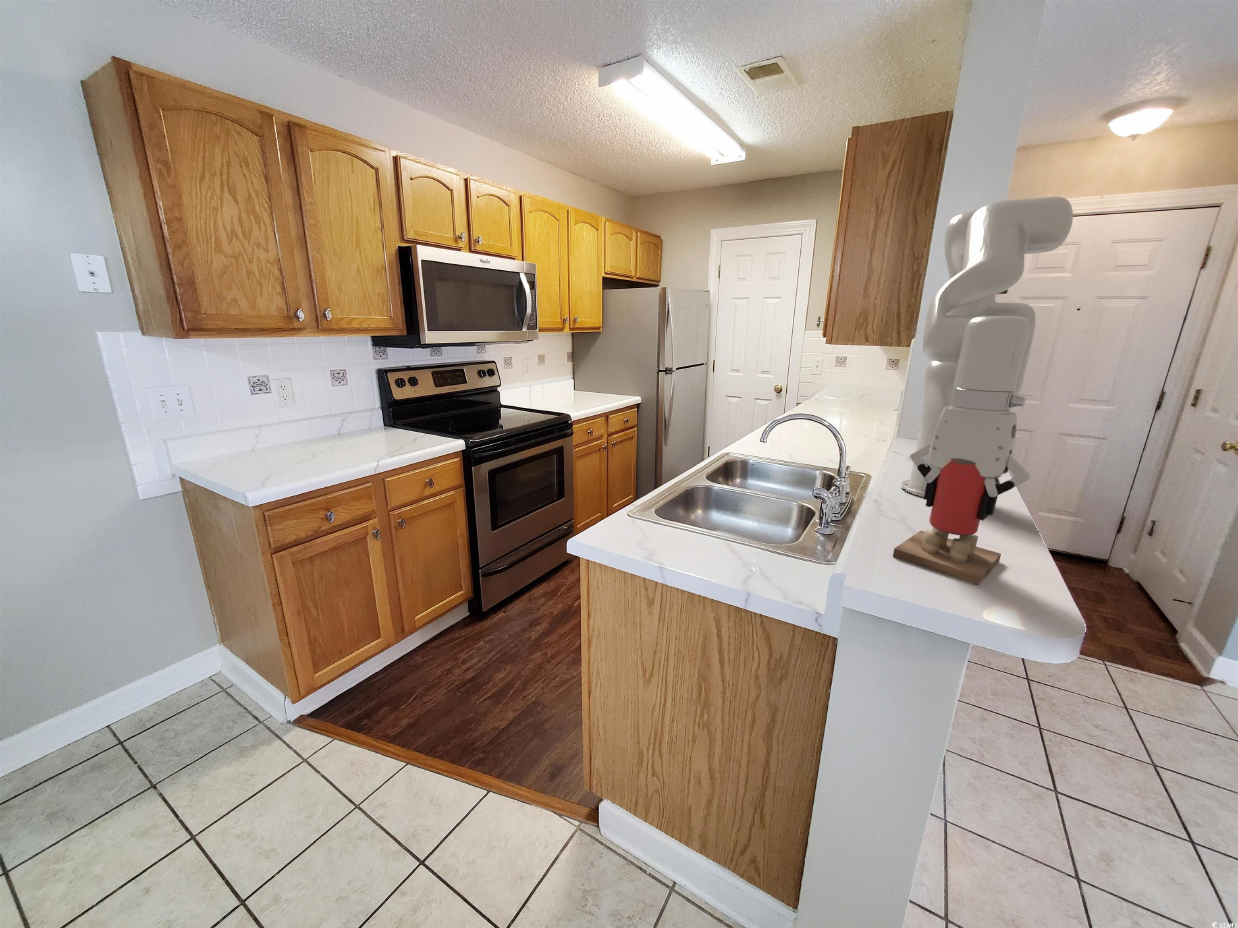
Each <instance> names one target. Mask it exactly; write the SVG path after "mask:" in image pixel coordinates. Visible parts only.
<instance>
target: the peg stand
mask: <svg viewBox="0 0 1238 928" xmlns="http://www.w3.org/2000/svg"><path fill="white" fill-rule="evenodd" d="M949 535H950V534H949V533H945V532H942V531H940V530H938V529H935V528H934V527H933V526H932V529H931V530H925V531H923V530H920V531H918V532H916V533H914V534H913V535H912V536H910V537H908V539H906V540H904V541H903V542H901V543H900V544H899V545H897V546H896V547H894V548H893V553H892V557H893V558H896V559H898V560H902V561H904V562H908V563H911V564H913V565H915V566H920V567H923V568H925V569H928V570H932V571H935V572H937V573H940V574H943V575H946V576H950V577H952V578H955V579H958V580H961V581H965V582H968V583H971V584H973V585H976V586H979V585H980V584H981V583H982V582H983V580H984V579H985V578H987V576H988V575H989V574H990V573H991V571H992V570H994V569H995V567H996V566H997V565H998V564H999V563H1000V560H1001V555H1002V553H1000V552H996V551H993V550H989V549H987V548H983V547H979V546H977V544H978V539H979V536H978V535H977V534H976V533H975V534H972V535H967V536H962V535H959V537H957V538H949Z"/></svg>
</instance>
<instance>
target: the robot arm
mask: <svg viewBox="0 0 1238 928" xmlns="http://www.w3.org/2000/svg"><path fill="white" fill-rule="evenodd" d="M1073 219H1074V213H1073V207H1072V204H1071V203H1070V201H1069V200H1068V199H1067V198H1065V197H1063V196H1044V197H1034V198H1033V197H1032V198H1023V199H1022V198H1021V199H1007V200H1000V201H995V202H992V203H989V204H986V205H984V206H982V207H980V208H979V209H975V210H969V211H966V212H965V211H964V212H962V213H960V214H957V215H955V216H954V217H952V218H951V219H950V221H948V223H947V225H946V229H945V233H944V256H945V262H946V266H947V270H948V277H949V280H948V281H947V282H945V283H944V284H943V286H941V288H939V290H938V291H937V292H936V293H935V295H934V296H933V298H932V300H931V301H930V304H929V306H928V309H927V312H926V318H925V324H924V328H923V329H924V331H923V337H922V352H923V354H924V355H925V357H926V358H927V359H928V360H929V361H930V362H929V363H928V365H927V366H926V369H925V373H924V397H923V406H922V407H923V408H922V414H921V419H920V423H919V430H918V435H917V439H916V440H917V441H916V446H915V451H914V452H913V453H911V454H910V455H909V458H910V460H911V461H912V467H911V472H910V477H909V479H905V480H903V481H902V482H901V485H900V488H901V487H902V488H903V489H905V490H906V491H905V490H904V491H905V492H907V491H908V492H907V493H909V492H910V493H909V494H911V493H912V494H911V495H914V496H917V495H918V497H922V498H923V499H924V500H925V501H926V502H925V507H927V508H932V505H933V500H934V495H935V491H936V486H937V481H938V476H939V473H940V470H941V469H942V468H943V467H944V466H945V465H947V464H948V463H949V462H950V461H951V459H952V458H954V459H958V460H962V461H968V462H975V463H976V464H975V466H976V467H977V469H978V471H979V472H980V474H981V476H982V477H983V478H985V481H984V483H985V486H986V489H987V492H986V494H985V495H984V496H983V497H982V502H981V506H980V510H979V514H978V519H979V520H980V521H982V522H983V521H985V520H986V519H987V518H988V517H989V516H990V517H991V516H993V515H994V513H995V510H996V509H995V508H996V505H997V500H998V497H999V495H1002V494H1004V493H1006V492H1008V491H1010V490H1013V489H1014V488H1016V487H1017V486H1020V485H1022V484H1024V483H1025V482H1027V481H1029V480H1030V479H1031V477H1032V475H1031V474H1030V473H1029V472H1028V471H1027V469H1025V468H1024V467H1023V465H1022V464H1020V462H1019V461H1018V460H1017V459H1016V458H1015V457H1014V455H1013V453H1014V449H1015V442H1016V435H1017V434H1016V433H1017V421H1018V420H1017V419H1018V417H1017V413H1016V412H1014V411H1011V410H1012V409H1013V408H1016V407H1025V404H1026V398H1027V397H1024V396H1020V395H1019V394H1020V392H1021V389H1022V386H1023V384H1024V379H1025V375H1026V370H1027V365H1028V362H1029V357H1030V352H1031V348H1032V344H1033V340H1034V339H1033V338H1034V335H1035V329H1036V321H1037V320H1036V312H1035V310H1034V308H1033V306H1032V305H1030V304H1027V303H1023V302H998V301H996V296H997V295H999V294H1001V293H1003V292H1005V291H1007V290H1008V289H1010V288H1012V287H1013V286H1015V285H1016V284H1017V283H1018V282H1019V280H1020V279H1021V277H1022V276H1023V273H1024V271H1025V255H1033V254H1041V253H1048V252H1052V251H1055V250H1056V249H1058V248H1060V246H1062V245H1063V244H1064V242H1065V241H1066V239H1067V238H1068V237H1069V234H1070V232H1071V229H1072V227H1073ZM1009 471H1010V472H1011V473H1012V474H1013V477H1012V478H1010V479H1008V480H1006V481H1003V482H1002V483H1001V481H1000V478H1001V477H1002V476H1003V475H1004V474H1007V473H1008V472H1009ZM902 488H901V489H902ZM903 489H902V490H903Z"/></svg>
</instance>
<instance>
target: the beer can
mask: <svg viewBox="0 0 1238 928" xmlns="http://www.w3.org/2000/svg"><path fill="white" fill-rule="evenodd" d="M975 464H976V463H975V462H968V461H962V460H958V459H954V458H952V459H951V461H950V462H949V463H948V464H947V465H945V466H944V467H943V468H942V469H941V470H940V473H939V476H938V481H937V486H936V491H935V495H934V500H933V505H932V506H931V512H930V515H929V520H928V522H929V524H930V525H931V526H932V528H933V527H934V528H935V529H938V530H940V531H942V532H945V533H949V535H954V536H960V535H962V536H967V535H972V534H975V535H976V534H977V532H978V530H979V526H980V521H981V520H979V519H978V514H979V510H980V506H981V502H982V497H983V496H984V495H985V494H986V492H987V489H986V486H985V483H984V481H985V478H983V477H982V476H981V474H980V472H979V471H978V469H977V467H976V466H975Z"/></svg>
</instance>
